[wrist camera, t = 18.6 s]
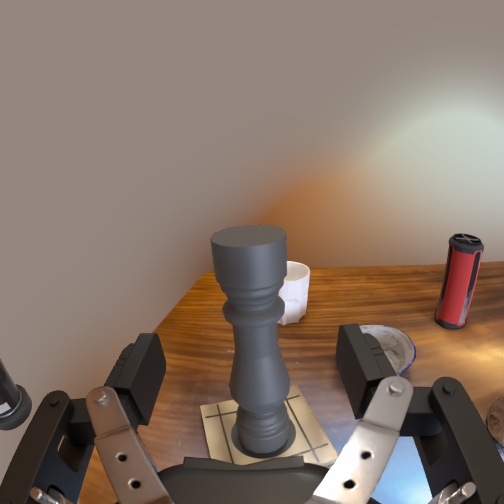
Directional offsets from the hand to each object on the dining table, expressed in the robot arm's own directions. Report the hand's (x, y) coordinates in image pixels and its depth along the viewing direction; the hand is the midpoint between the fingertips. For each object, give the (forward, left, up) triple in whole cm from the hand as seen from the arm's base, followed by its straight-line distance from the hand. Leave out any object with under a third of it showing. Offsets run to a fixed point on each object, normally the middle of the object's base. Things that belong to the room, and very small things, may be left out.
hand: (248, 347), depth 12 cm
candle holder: (+3, +10, -23) cm, 26 cm away
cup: (+16, +39, -25) cm, 49 cm away
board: (+3, +11, -25) cm, 27 cm away
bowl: (+23, +17, -25) cm, 38 cm away
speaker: (+47, +20, -25) cm, 57 cm away
